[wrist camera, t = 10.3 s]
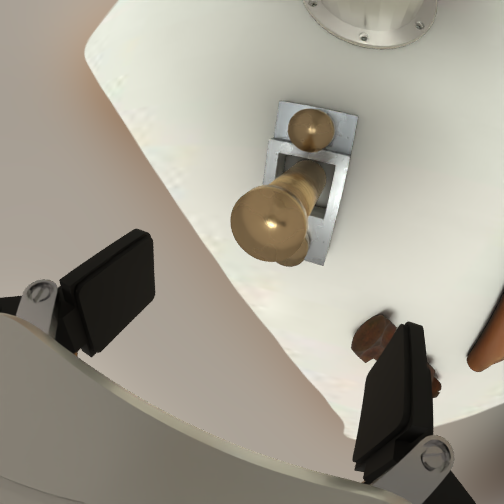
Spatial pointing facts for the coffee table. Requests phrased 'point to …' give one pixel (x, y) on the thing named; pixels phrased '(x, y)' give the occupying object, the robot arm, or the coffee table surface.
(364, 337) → the bolt
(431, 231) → the coffee table surface
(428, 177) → the coffee table surface
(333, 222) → the brass knob on bracket
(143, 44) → the coffee table surface
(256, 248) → the link pin
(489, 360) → the sunglasses case
